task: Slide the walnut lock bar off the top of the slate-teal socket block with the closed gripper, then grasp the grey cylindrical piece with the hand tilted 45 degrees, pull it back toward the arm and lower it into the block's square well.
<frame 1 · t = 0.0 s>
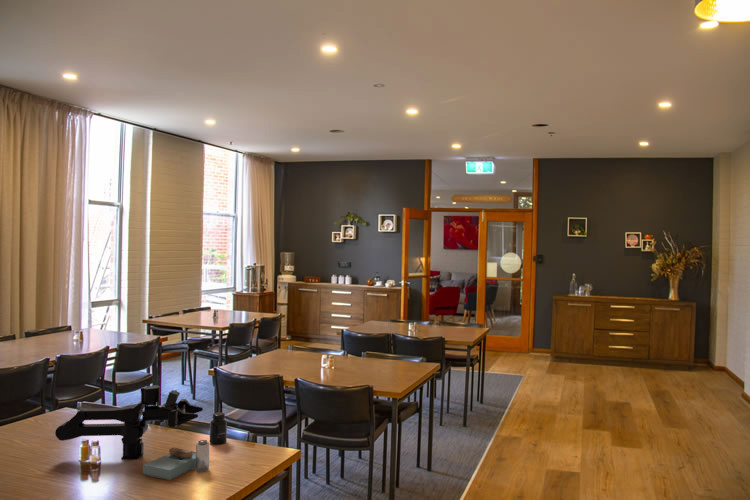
hand: (200, 412, 221), 17 cm above the table, tool horizontal, fingers open, 9 cm apart
grey cylindrical piece: (202, 470, 205), on the table
lock bar: (180, 452, 209), point 5 cm above the table, slide at 0.0 cm
socket: (180, 465, 209), on the table
supplement bottle: (218, 443, 235), on the table
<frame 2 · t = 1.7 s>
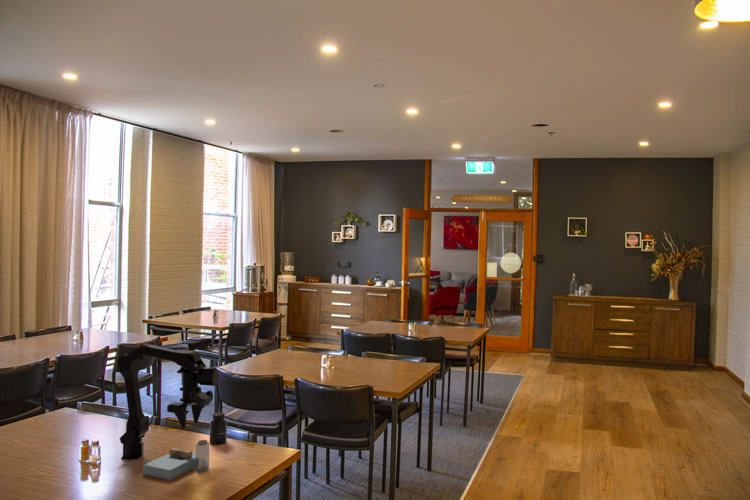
hand: (189, 425, 215), 13 cm above the table, tool pointing down, fingers open, 6 cm apart
nothing on the table moved.
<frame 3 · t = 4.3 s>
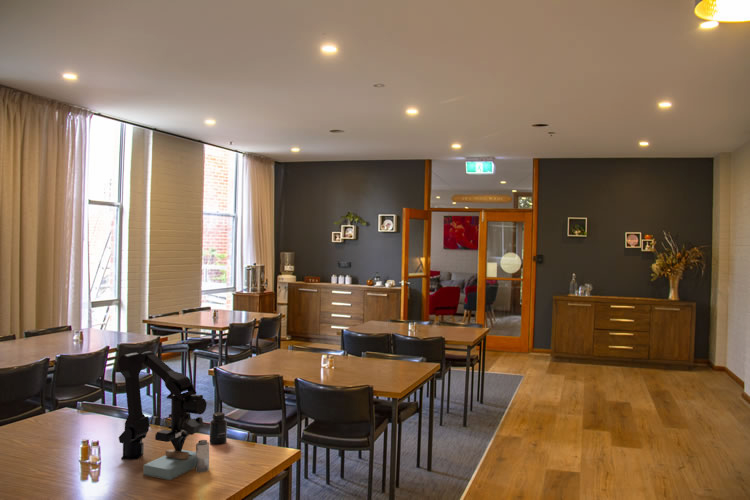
hand: (178, 453, 210), 4 cm above the table, tool pointing down, fingers closed
lock bar: (177, 454, 208), point 5 cm above the table, slide at 1.9 cm, touching gripper
everything else where it was.
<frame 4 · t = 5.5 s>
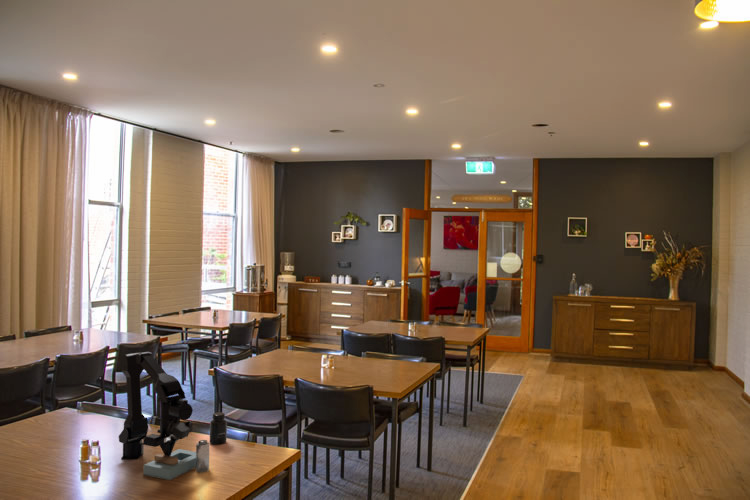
hand: (168, 458, 205), 5 cm above the table, tool pointing down, fingers closed
lock bar: (166, 459, 202), point 5 cm above the table, slide at 7.4 cm, touching gripper
everything else where it was.
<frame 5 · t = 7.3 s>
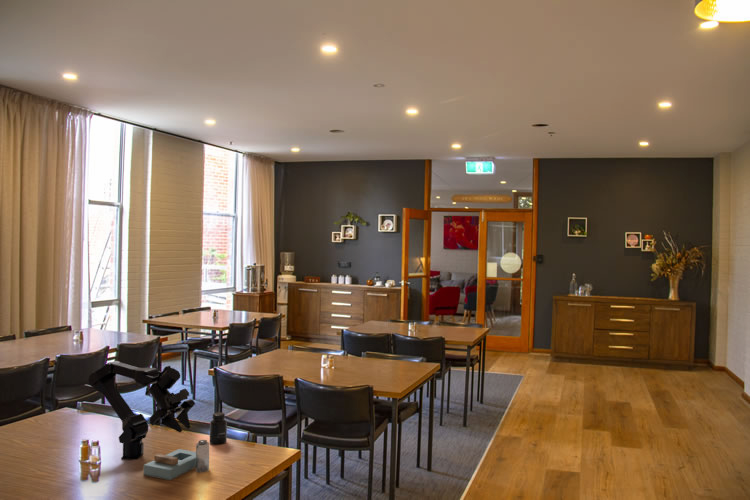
hand: (185, 429, 209), 14 cm above the table, tool tilted 45°, fingers open, 4 cm apart
lock bar: (166, 459, 202), point 5 cm above the table, slide at 7.5 cm
everything else where it was.
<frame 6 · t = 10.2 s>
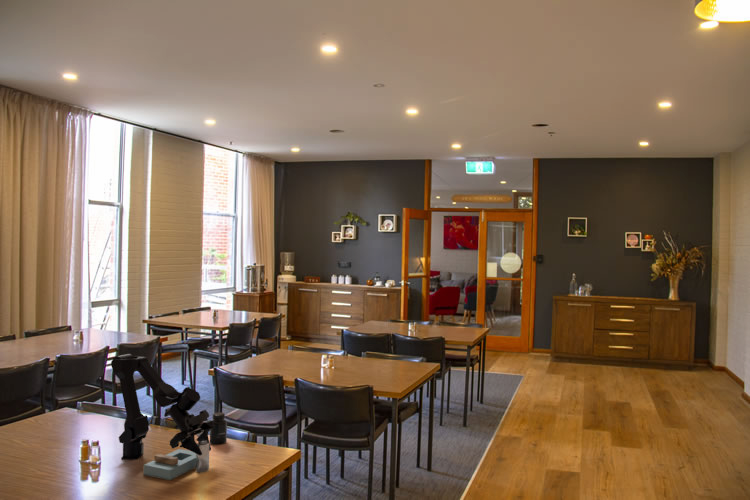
hand: (205, 452, 205), 7 cm above the table, tool tilted 45°, fingers closed on grey cylindrical piece, 5 cm apart
grey cylindrical piece: (202, 470, 205), on the table, touching gripper
everything else where it was.
when the fingers open (8 cm above the table, at t = 13.5 s): grey cylindrical piece drops 1 cm, resting on socket.
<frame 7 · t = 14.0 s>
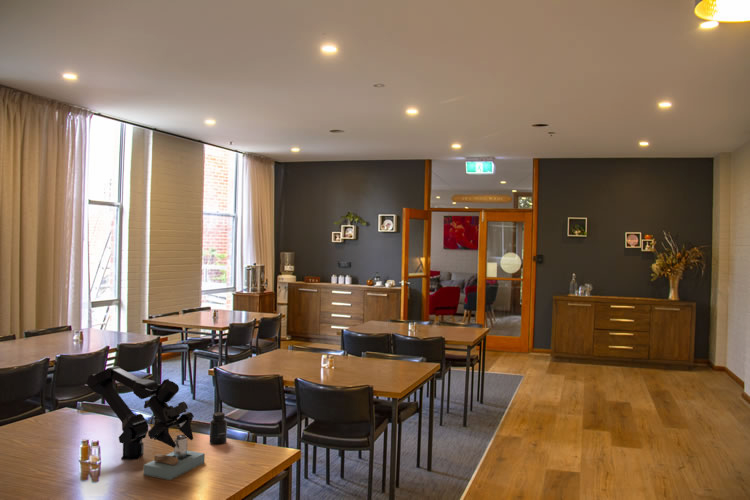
hand: (183, 443, 209), 9 cm above the table, tool tilted 45°, fingers open, 9 cm apart
grey cylindrical piece: (180, 464, 209), point 1 cm above the table, touching socket
everything else where it was.
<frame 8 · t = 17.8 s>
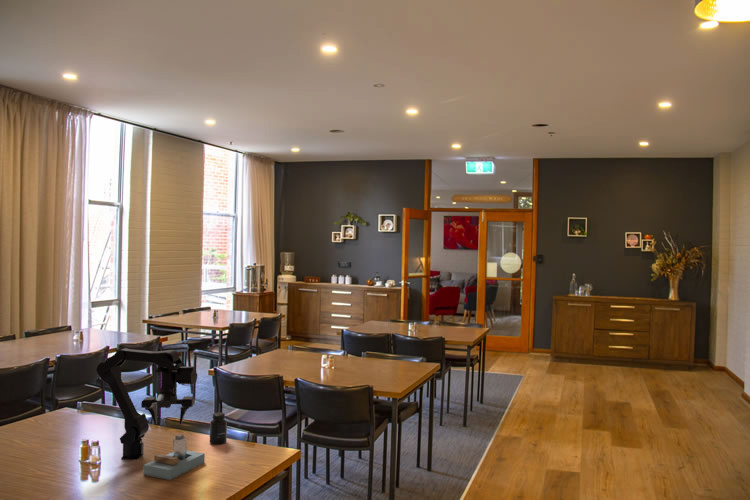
hand: (168, 424, 217), 13 cm above the table, tool pointing down, fingers open, 9 cm apart
nothing on the table moved.
at the end: grey cylindrical piece 0.1 cm off-centre on the socket, point 0.6 cm above the socket's base; grey cylindrical piece tilted 2°; lock bar slide at 7.5 cm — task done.
